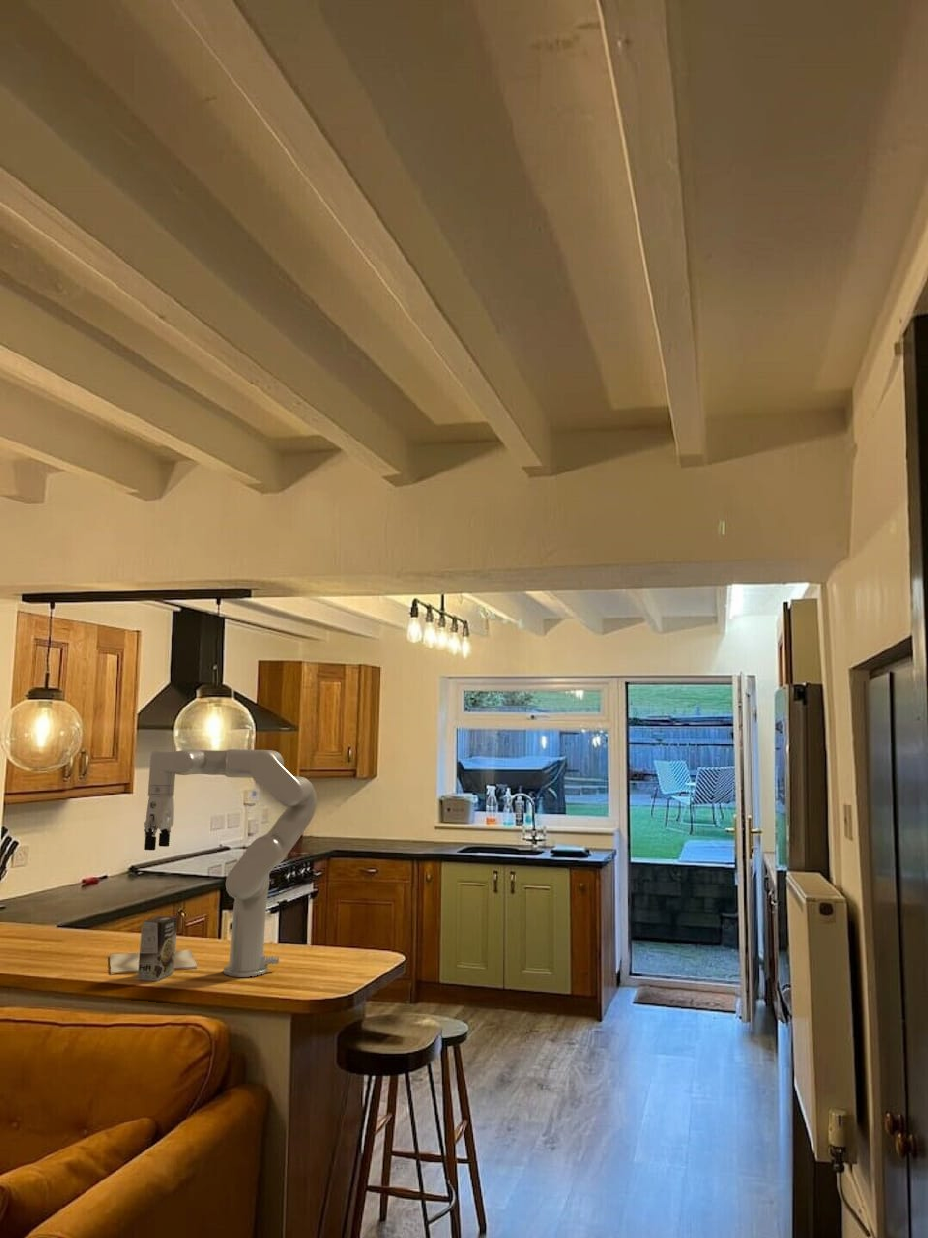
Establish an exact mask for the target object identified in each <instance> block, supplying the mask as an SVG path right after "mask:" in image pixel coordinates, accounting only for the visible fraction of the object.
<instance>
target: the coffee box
mask: <svg viewBox="0 0 928 1238" xmlns="http://www.w3.org/2000/svg"><path fill="white" fill-rule="evenodd" d="M141 927H142V928H141V936H140V937H141V938H140V948H139V953H140V959H139V970H138V973H137V980H139V981H148V982H149V981H150V982H158V981H160V980H163V979H165V978H168V977H169V976H172V975H173V974H174V971H175V970H174V958H175V950H176V941H177V928H178V916H170V915H169V916H166V915H165V916H162V915H157V916H155V917H151V918H148V919H145V920H142V926H141Z"/></svg>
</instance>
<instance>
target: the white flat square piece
mask: <svg viewBox="0 0 928 1238" xmlns="http://www.w3.org/2000/svg"><path fill="white" fill-rule="evenodd" d="M139 959H140V952H129V953H127V952H126V953H114V954H113V953H111V954H109V965H110V966H109V967H111V969H110V974H111V973H125V974H136V973H137V974H138V970H139ZM196 969H198V965H197V963H196V960H195V958H194V955H193V953H192V951H191V949H175V958H174V971H181V970H182V971H183V970H196Z"/></svg>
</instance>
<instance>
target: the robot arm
mask: <svg viewBox="0 0 928 1238" xmlns="http://www.w3.org/2000/svg"><path fill="white" fill-rule="evenodd" d="M176 775H178V776H189V775H190V776H191V775H220V776H226V777H227V778H242V779H243V778H246V779H248V778H249V779H253V778H254V779H255V781H256V782H258V783H259V784H260V786H261V787H262V788H263V789H264V790H265V791H266V792H267V793H268V794H269V795H270V796H271V797H272V798H273V799H274V800H275V801H276V802H278V803H279V804H280V805H282V806H284V807H286V808H285V811H283V812H282V813H281V815H280V816H279V817H278V819H277V820H276V822H275V823H274V825H272V827H271V828H270V830H269V831H268V832H267V833H265V834H263V835H262V836H259V837H257V838H256V839H255V840H253V842H251V843H250V845H248V847H247V848H246V850H245V851H244V853H243V854H242V855H241V857H240V858H239V859H238V861H237V862H236V863H235V865H234V866H233V867H232V869H231V870H230V871H229V872H228V873H227V874H228V875H227V877H226V881H225V888H226V892H227V893H228V895H229V897H231V898H233V899H234V900H233V907H232V908H233V909H232V920H231V921H232V922H231V933H230V934H231V936H230V950H229V951H230V952H229V953H230V954H229V964H228V965H226V966H225V967H224V968H223V974H225V975H226V976H229V977H234V978H251V977H250V976H252V977H257V975H258V976H262V975H264V974H265V973H267V972H268V968H269V967H268V966H269V965H279V963H280V958H279V957H278V956H277V957H274V956H265V954H264V947H265V944H264V943H265V926H266V914H267V913H266V912H267V899H268V893H269V887H270V874H271V872H272V871H273V869H274V868H275V867H276V866H278V865H280V864H281V863H282V862H284V860H285V859H286V857H287V856H288V854H289V853H290V851H291V850H292V848H293V847H294V846H295V845H296V843H297V842H298V840H299V839H300V837H301V836H302V835H303V833H304V832H305V830H306V829H307V828H308V826H309V825H310V824H311V821H312V819H313V818H314V816H315V814H316V810H317V805H318V796H317V793H316V790H315V787H314V785H313V783H312V782H311V781H310V780H309V779H308V778H307V777H304V776H298V775H297V776H295V775H294V776H293V774H292V773H290V772H289V771H288V769H286V768H285V761H284V758H283V756H282V754H281V753H280V752H278V751H276V750H273V749H272V750H271V749H238V748H237V749H235V748H234V749H232V748H231V749H230V748H229V749H226V750H207V749H206V750H205V749H201V750H200V749H187V750H186V749H185V750H184V749H183V750H175V751H174V750H166V749H159V750H157V749H156V750H153V751H151V752H150V759H149V771H148V786H147V797H148V800H147V807H146V813H145V821H144V822H143V823H144V824H143V826H144V831H143V832H144V846H143V848H144V849H143V850H144V851H156V846H157V845H156V844H157V842H156V841H157V836H156V834H157V832H158V830H159V832H160V833H159V835H158V847H161V848H162V847H165V848H167V847H168V848H169V846H170V842H171V841H170V840H171V831H172V830H171V829H172V827H174V814H175V813H174V812H175V810H174V808H175V807H174V806H175V803H174V794H175V793H174V792H175V778H176ZM261 974H262V975H261Z"/></svg>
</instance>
